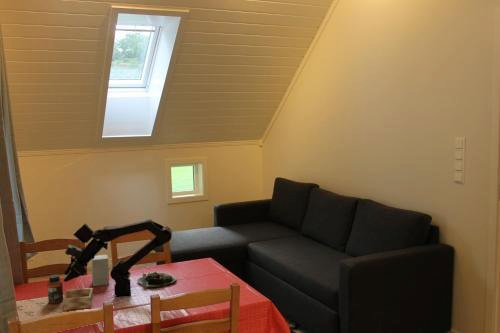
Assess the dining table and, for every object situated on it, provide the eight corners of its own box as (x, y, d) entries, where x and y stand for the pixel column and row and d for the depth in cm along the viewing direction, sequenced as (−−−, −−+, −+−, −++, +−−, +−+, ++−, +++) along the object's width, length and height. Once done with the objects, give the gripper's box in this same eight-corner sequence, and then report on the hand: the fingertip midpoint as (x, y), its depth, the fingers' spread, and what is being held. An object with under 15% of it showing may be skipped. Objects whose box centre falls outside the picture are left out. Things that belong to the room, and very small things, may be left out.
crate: (93, 297, 205) (92, 287, 204) (91, 307, 194) (90, 296, 194) (67, 300, 202) (67, 290, 202) (63, 309, 192) (63, 299, 191)
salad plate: (128, 281, 226) (127, 271, 226) (161, 273, 238) (161, 264, 237) (146, 292, 212) (146, 282, 211) (181, 283, 223) (180, 274, 222)
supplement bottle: (58, 297, 205) (57, 272, 204) (66, 301, 201) (64, 275, 200) (45, 301, 200) (44, 276, 199) (52, 305, 197) (51, 279, 195)
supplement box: (109, 284, 221) (108, 258, 220) (93, 286, 218) (91, 260, 217) (108, 279, 228) (107, 254, 227) (92, 281, 225) (91, 255, 224)
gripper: (76, 233, 210) (50, 259, 207) (76, 244, 193) (48, 273, 190) (95, 249, 214) (70, 275, 211) (97, 260, 196) (70, 289, 193)
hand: (64, 277), depth 201 cm, fingers open, 9 cm apart
